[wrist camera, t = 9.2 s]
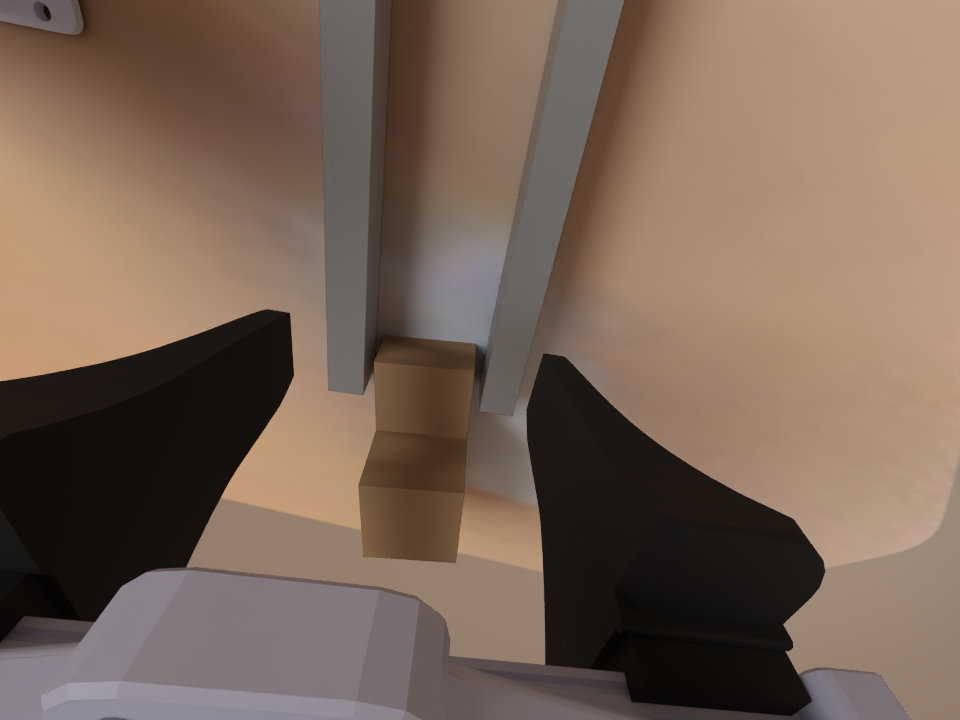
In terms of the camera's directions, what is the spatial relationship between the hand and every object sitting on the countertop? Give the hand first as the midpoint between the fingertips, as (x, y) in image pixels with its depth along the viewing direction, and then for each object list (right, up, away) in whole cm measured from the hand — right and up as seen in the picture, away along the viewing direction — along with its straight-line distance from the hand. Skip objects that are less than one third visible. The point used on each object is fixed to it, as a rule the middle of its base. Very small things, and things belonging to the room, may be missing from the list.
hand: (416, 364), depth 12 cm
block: (-1, -3, +12) cm, 12 cm away
